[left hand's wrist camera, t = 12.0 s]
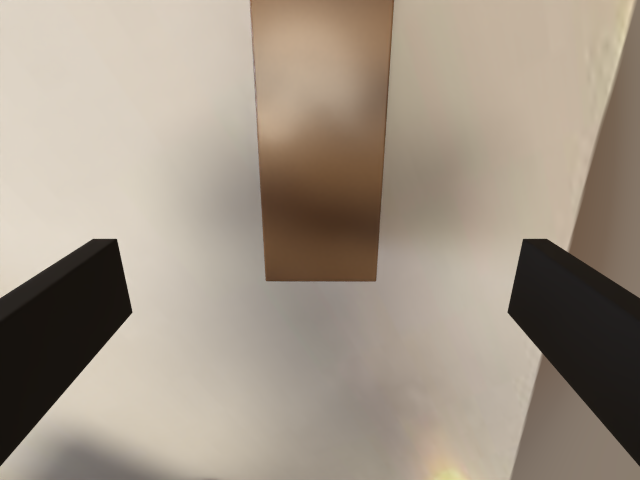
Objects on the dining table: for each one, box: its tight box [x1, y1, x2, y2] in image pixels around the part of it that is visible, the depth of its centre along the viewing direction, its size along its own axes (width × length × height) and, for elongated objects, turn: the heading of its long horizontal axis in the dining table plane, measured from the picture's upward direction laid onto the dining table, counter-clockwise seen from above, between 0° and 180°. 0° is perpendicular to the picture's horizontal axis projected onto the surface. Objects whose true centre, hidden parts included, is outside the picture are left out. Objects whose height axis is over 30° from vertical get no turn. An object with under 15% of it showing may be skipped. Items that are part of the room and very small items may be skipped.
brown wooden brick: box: [250, 0, 394, 281], centre depth 20 cm, size 19×6×8 cm, turn 0°
